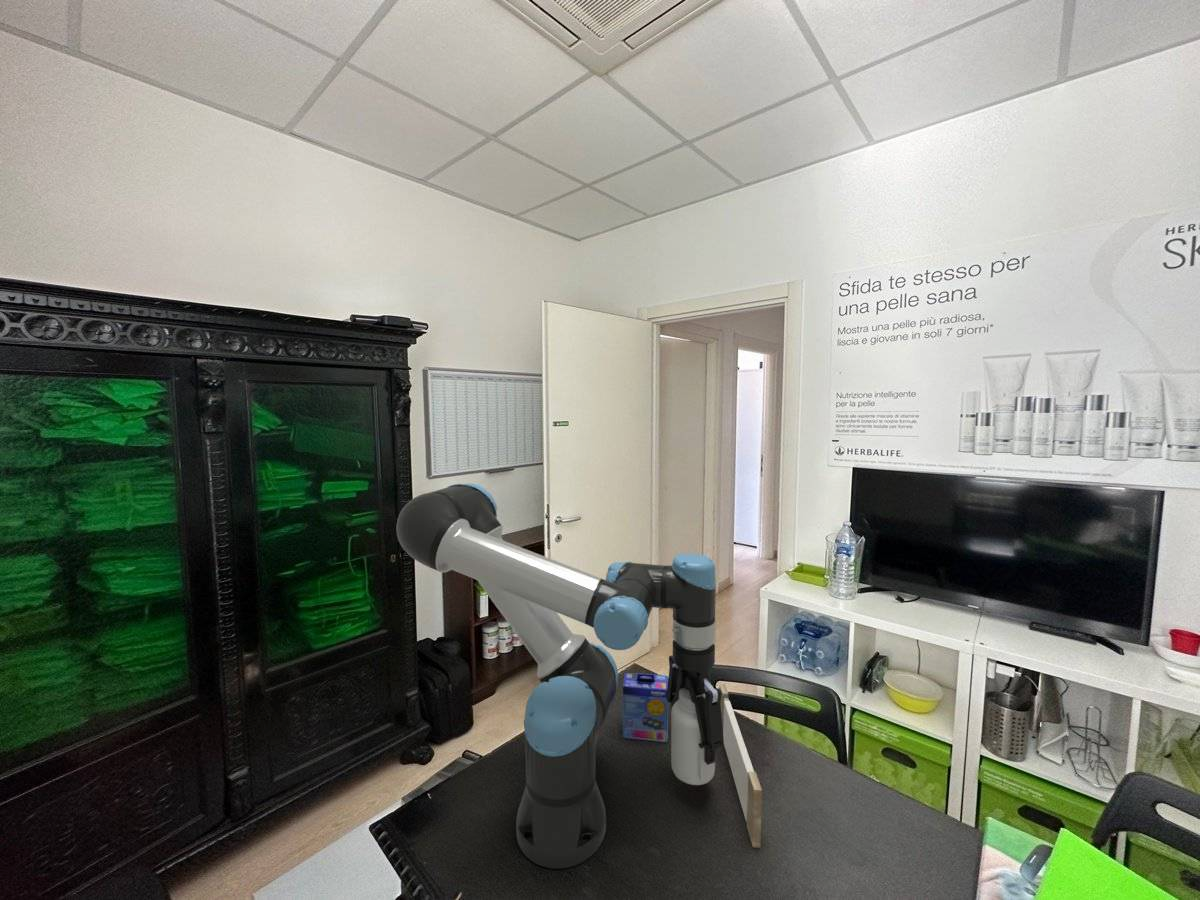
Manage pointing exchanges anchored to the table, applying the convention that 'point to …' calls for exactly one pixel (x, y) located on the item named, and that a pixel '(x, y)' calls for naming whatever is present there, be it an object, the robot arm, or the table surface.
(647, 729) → the ink cartridge box
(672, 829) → the table surface
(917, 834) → the table surface
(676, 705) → the pill bottle
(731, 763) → the door
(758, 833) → the oak wall
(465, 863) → the table surface
